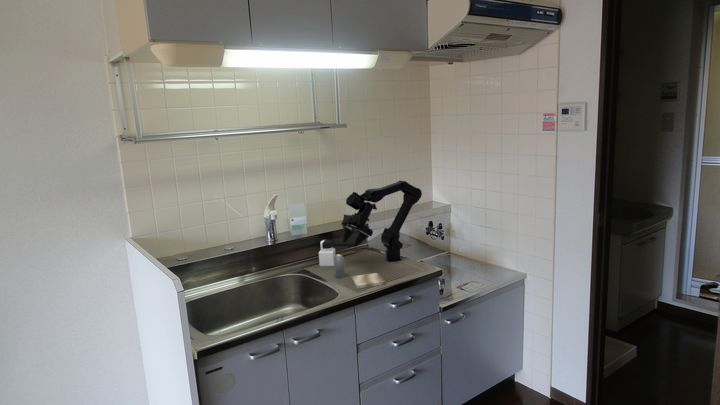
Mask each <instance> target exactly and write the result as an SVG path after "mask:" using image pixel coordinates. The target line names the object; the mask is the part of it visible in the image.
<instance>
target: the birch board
mask: <svg viewBox="0 0 720 405" xmlns="http://www.w3.org/2000/svg"><path fill="white" fill-rule="evenodd" d="M350 279H351V281H352V283H353V284H354V285H355V287H356V288H357V289H364V288H369V287H371V288H372V287H377V285H378V286H383V285H382V284H386V282H385V280H384V279H383V278H382V277H381V275H380V274H378V273H377V272H375V273H367V274H360V275H359V274H358V275H351V276H350Z"/></svg>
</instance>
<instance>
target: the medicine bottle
mask: <svg viewBox="0 0 720 405" xmlns="http://www.w3.org/2000/svg"><path fill="white" fill-rule="evenodd" d="M333 243H334V242H333V240H331V239H323V240H321V241H320V243H319V244H320V250H319V251H318V264H319V267H334V257H336V255H337V254H336V247H335V248H334V244H333Z"/></svg>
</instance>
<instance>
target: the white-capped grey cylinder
mask: <svg viewBox="0 0 720 405" xmlns="http://www.w3.org/2000/svg"><path fill="white" fill-rule="evenodd" d="M345 266H346V265H345V257H344V255H342V254H338V253H337V254H336V257H334V266H333V267H334V278H335V279H344V278H346V267H345Z"/></svg>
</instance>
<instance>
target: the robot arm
mask: <svg viewBox="0 0 720 405" xmlns="http://www.w3.org/2000/svg"><path fill="white" fill-rule="evenodd" d="M397 192H402V193H403V196H402V198H403V199H402V200H403V201H402V204H401V205H400V207H399V209H398V211H397V214H396V215H395V217H394V219H393V221H392V223H391V225H390V227H388V228H387V227H384V230H383V231H382V233H381V236H380V240H381V243H382V245H383V247H385V251H384V252H385V253H384V254H385V260H387V261H388V262H390V263H391V262H397V261H402V260H403V259H402V258H401V249H403V245H404V244H403V243H402V242H401V241H400V237H401V236H400V230H401V228H402V227H403V225H404V223H405V221H406V219H407V217H408V215H409V214H410V211H411V209H412V207H413V206H414V205H416V204H417V203H418V202H419V200H420V199H421V197H422V194H423V193H422V190H421V188H420V187H416V186H414V185H412V184H410V183H409V182H407V181H405V180H398V181H396V182H393V183H391V184H387V185H385V186H382V187H378V188H377V187H376V188H375V187H374V188H367V189H365V191H364V192H363V193H362V194H359V193H357V192H355V191H353V192H352V193H351V194H349V195H348V197H347V198H346V200H345V203H346V205H347V206H348V207H350V208H352V209H353V210H355V211H357V212H354V213H353V214H343V219H342V221H341V224H340V225H341V226H342V228H343V239H342V243H344V244H345V243H346V242H348V239H350V238H351V237H352V235H353V234H354V232H355V231H354V230H356V233H357V235H356V238H355V240H354V242H353V247H354V248H356V247H357V246H359V244H362V242H364V241H365V240H366V239H367V238H370V237H372V235H373V233H374V230H373V229H371V228H370V227H368V226H366V224H367V222H370V216H371V213H372V211H373V210H375V211H377V210H378V208H377V205H376V203H378V202H380V201H382V200H383V199H384V198H385V197H386V196H388V195H392V194H395V193H397Z"/></svg>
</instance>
